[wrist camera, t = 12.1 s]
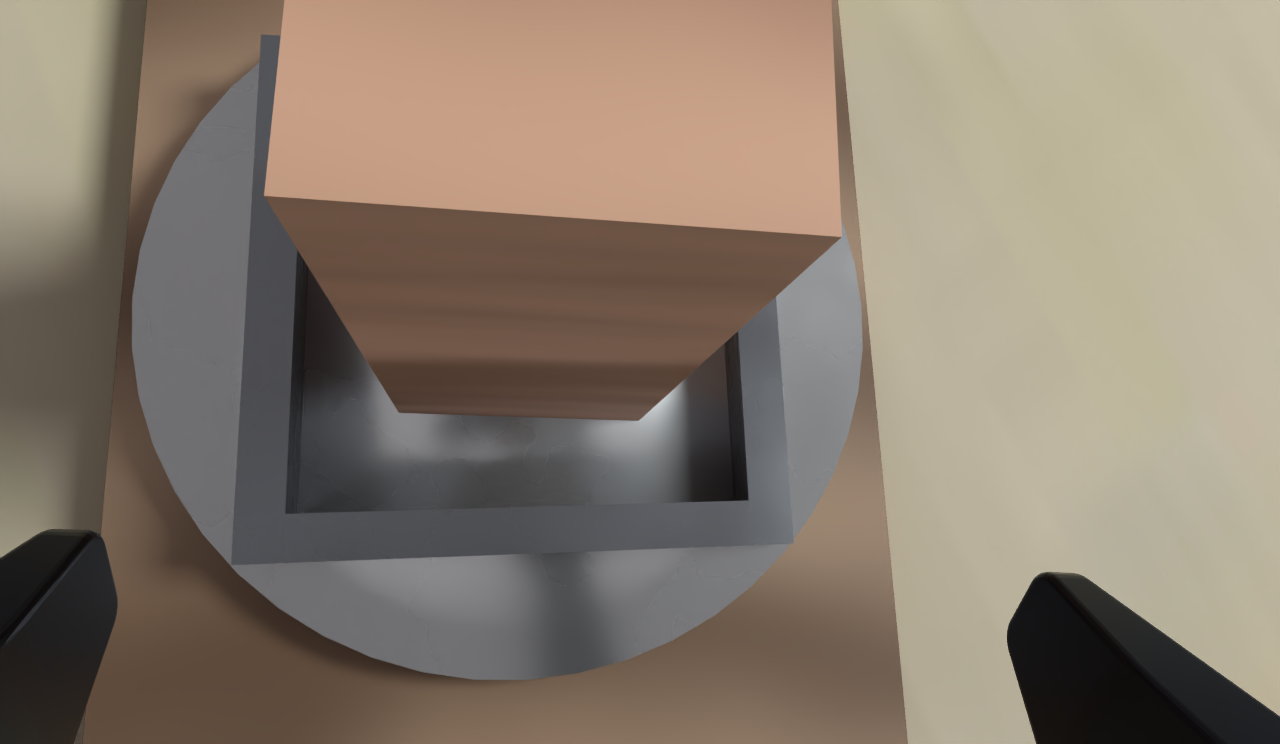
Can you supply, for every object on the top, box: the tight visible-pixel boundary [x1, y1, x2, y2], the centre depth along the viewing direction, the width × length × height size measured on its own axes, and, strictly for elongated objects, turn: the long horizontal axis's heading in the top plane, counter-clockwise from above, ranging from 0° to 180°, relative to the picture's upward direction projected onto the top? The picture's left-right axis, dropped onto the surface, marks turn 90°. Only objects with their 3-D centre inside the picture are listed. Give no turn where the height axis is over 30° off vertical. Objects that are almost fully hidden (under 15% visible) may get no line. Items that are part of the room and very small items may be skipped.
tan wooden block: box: [264, 0, 842, 421], centre depth 12 cm, size 4×4×10 cm
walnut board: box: [83, 0, 908, 744], centre depth 18 cm, size 18×15×1 cm
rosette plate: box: [132, 34, 863, 680], centre depth 17 cm, size 14×14×2 cm
